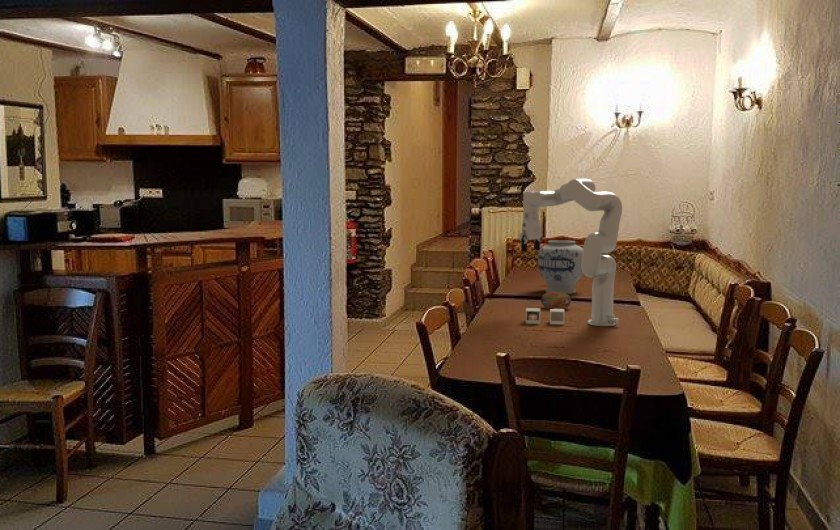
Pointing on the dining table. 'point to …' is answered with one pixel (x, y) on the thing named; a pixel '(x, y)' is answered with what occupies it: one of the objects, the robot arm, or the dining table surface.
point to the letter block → (533, 316)
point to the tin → (556, 300)
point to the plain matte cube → (533, 310)
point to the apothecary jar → (560, 265)
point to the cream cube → (556, 316)
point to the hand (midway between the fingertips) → (530, 250)
